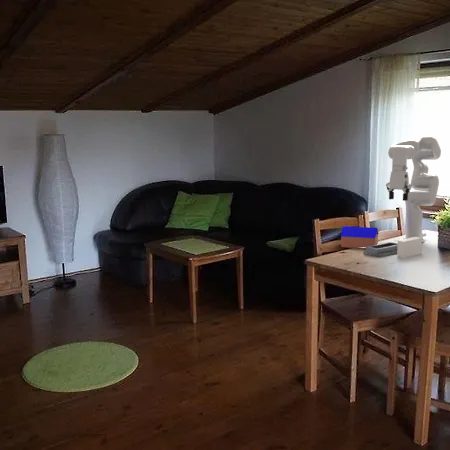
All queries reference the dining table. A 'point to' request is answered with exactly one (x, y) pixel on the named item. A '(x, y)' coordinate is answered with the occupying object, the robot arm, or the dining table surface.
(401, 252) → the white block
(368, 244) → the blue shipping container
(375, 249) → the grey holder tray
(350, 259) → the dining table surface
